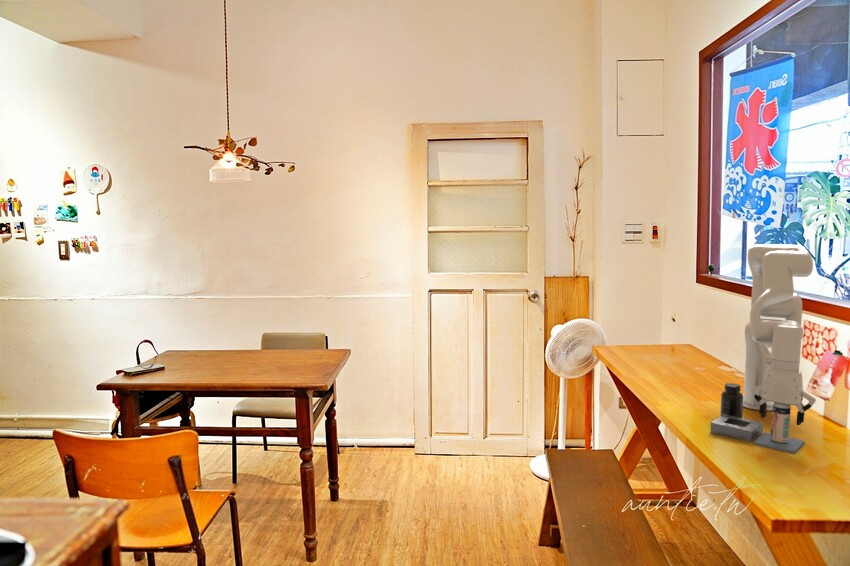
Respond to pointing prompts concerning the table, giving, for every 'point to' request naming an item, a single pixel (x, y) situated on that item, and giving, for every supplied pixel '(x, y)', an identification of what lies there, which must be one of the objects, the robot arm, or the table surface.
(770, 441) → the mat
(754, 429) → the gray square frame
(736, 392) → the supplement bottle
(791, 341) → the robot arm
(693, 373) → the table surface
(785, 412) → the beer can
